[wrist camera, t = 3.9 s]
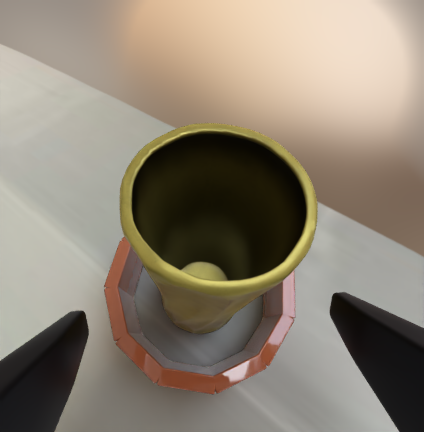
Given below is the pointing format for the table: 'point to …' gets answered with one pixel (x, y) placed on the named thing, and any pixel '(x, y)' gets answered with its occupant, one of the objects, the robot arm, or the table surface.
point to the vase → (216, 219)
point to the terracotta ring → (181, 372)
